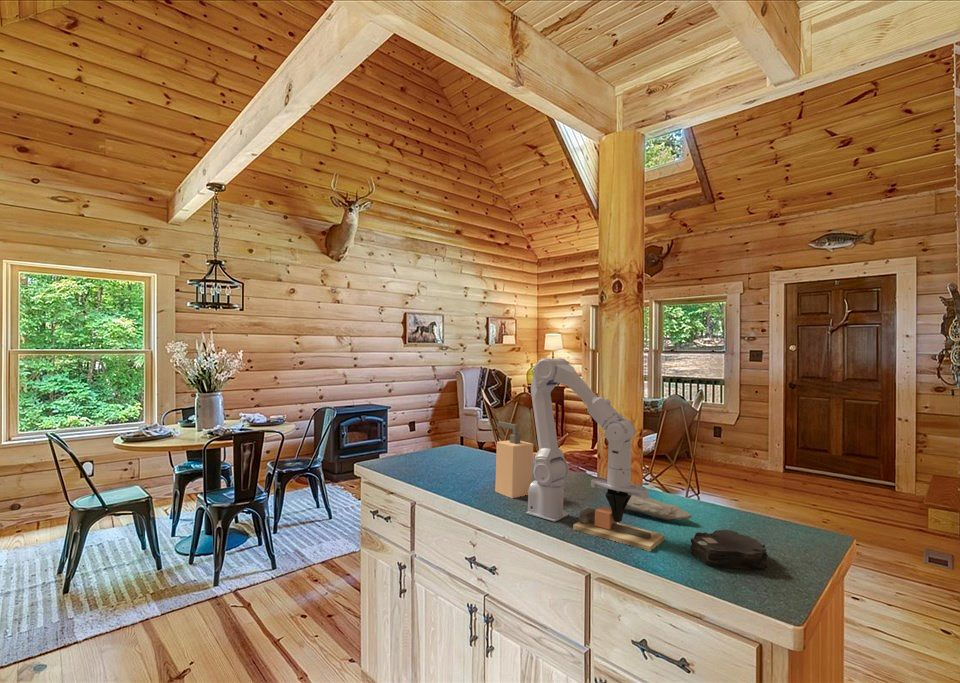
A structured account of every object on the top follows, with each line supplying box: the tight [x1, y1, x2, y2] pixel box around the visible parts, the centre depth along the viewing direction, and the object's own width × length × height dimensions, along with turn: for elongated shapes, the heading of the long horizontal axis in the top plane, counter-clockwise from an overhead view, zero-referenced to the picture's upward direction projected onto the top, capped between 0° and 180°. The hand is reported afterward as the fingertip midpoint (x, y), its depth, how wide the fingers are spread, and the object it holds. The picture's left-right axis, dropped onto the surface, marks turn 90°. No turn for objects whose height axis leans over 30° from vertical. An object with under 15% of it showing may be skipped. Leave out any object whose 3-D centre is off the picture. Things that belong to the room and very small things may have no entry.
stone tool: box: [625, 496, 693, 521], centre depth 139 cm, size 12×5×25 cm
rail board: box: [572, 507, 666, 552], centre depth 121 cm, size 20×10×4 cm, turn 51°
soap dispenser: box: [494, 420, 534, 499], centre depth 157 cm, size 13×9×22 cm
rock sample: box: [690, 529, 769, 570], centre depth 109 cm, size 18×16×5 cm
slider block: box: [595, 505, 617, 529], centre depth 124 cm, size 4×5×4 cm
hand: (617, 521), depth 121 cm, fingers closed
